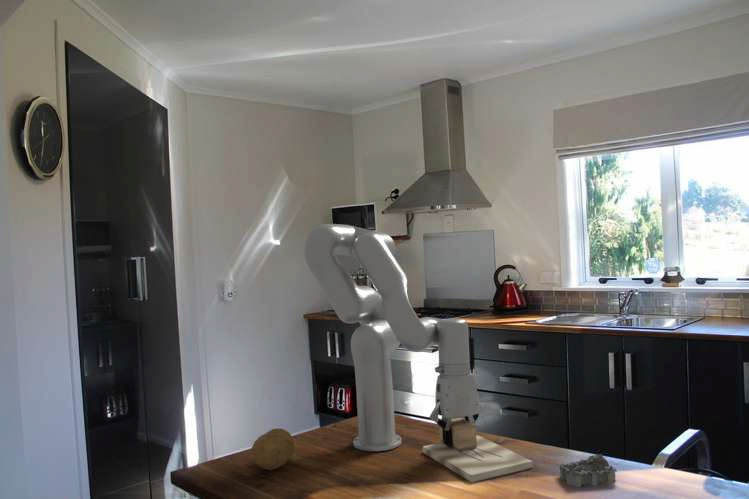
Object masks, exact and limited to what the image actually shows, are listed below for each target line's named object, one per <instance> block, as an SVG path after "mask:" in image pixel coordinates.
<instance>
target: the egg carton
mask: <svg viewBox="0 0 749 499" xmlns="http://www.w3.org/2000/svg"><path fill="white" fill-rule="evenodd" d="M603 455H604V454H603V453H601V454H595V455H590V456H588V458H587V459H580V460H579V461H570V462H567V463H557V467H559V477H560V479H562V480H566V485H568V486H574V487H575V488H579V487H582V485H584V484H585V485H586V484H588V485H591V486H597V485H598V483H605V482H606V483H605V484H608V485H610V484H611V483H612V484H614V482H615V481H616V472H618V470H617V469H616V467H613V465H609V462H608V459H606V458H605V457H604V456H603Z"/></svg>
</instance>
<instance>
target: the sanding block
mask: <svg viewBox="0 0 749 499" xmlns="http://www.w3.org/2000/svg"><path fill="white" fill-rule="evenodd" d="M438 426H439V425H438ZM476 428H477V426H476V423H475V424H473V423H471V422H468V421H466V420H464V418H462V417H461V418H455V419H452V420H451V426H450V430H452V440H453V446H452V448H454V449H456V450H457V451H463V450H468V449H473V448H477V440H476V435H477V430H476ZM438 429H439V441H440V443H441V442H442V443H444V442H443V431H442V428H441V427H440V426H439V428H438Z"/></svg>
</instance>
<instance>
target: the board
mask: <svg viewBox="0 0 749 499" xmlns="http://www.w3.org/2000/svg"><path fill="white" fill-rule="evenodd" d="M476 440H477V448H473V449H468V450H463V451H457V450H456V449H454V448H452V447H449V446H447V445H445V444H444V443H442V442H441V441H440V442H437V443H433V444H427V445H423V446H422V453H423V454H425V455H427V456H429V457H430V458H432V460H434V461H436V462H438V463H439V464H441V465H442V466H444V467H446V468H448V469H449V470H451V471H453V472H454V473H456V474H457V475H459V476H461V477H462V478H464V479H465V480H467V481H469V482H470V483H475V482H478V481H482V480H483V481H485V480H487V479H491V478H495V477H500V476H504V475H508V474H512V473H516V472H520V471H525V470H529V469H533V468H534V465H533V464H534V463H533V460H531V459H530V458H528V457H527V458H526V457H525V456H523V455H521V454H518V453H516V452H514V451H512V450H510V449H508V448H507V447H503V446H501V445H499V444H498V443H495V442H493V441H490V440H489V439H486V438H485V437H483V436H481V435H478V434H476Z"/></svg>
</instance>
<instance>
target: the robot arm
mask: <svg viewBox="0 0 749 499" xmlns="http://www.w3.org/2000/svg"><path fill="white" fill-rule="evenodd" d="M396 250H397V248H396V244H395V241H394V240H393V238H392V237H391V236H390V235H389V234H387V233H385V232H380V231H376V230H370V229H367V228H362V227H360V226H359V227H357V226H354V225H350V224H341V223H340V224H337V223H323V224H320V225H317V226H316V227H314V228H313V229H312V230H311V231H310V232H309V234H308V235H307V236H306V240H305V243H304V251H303V252H304V253H303V254H304V258H305V263H306V265H307V268H308V269H309V271H310V272H311V274H312V276H313V277H314V278H315V280H316V282H317V284H319V286H320V288H321V290H322V292H323V293H324V296H325V297H326V299H327V301H328V302H329V304H330V306H331V307H332V310H333V311H334V313H335V314H336V316H337V317H338V319H339V320H340V321H341V322H343V323H345V324H356V323H359V324H360V326H358V327H357V328H356V329H355V330H354V331H353V333H352V335H351V339H350V350H351V356H352V360H353V365H354V375H355V387H356V388H355V389H356V408H357V426H358V436H356V437H355V438H353V440H352V443H353V447H354V448H355V449H357V450H360V451H365V452H382V451H383V452H385V451H389V450H394V449H395V448H398V447H399V446H400V445H401V444H402V437H401V436H400V435H399V434H396V425H395V424H396V422H395V409H394V408H395V407H394V406H395V405H394V388H393V387H394V385H393V374H392V373H393V372H392V366H391V364H390V363H391V362H390V360H389V354H390V353H392V352H394V351H396V350H397V349H398V347H399V346H400V344H401V345H402V346H403V348H405V349H407V351H409V352H413V353H419V352H420V353H421V352H423V351H425V350H427V349H429V348H431V347H434V346H437V348H438V350H437V351H438V366H435V367H434V371H435V373H437V374H439V375H437V377H436V378H437V379H436V384H435V400H434V401H435V405H434V409H433V410H432V412H431V413H430V415H429V419H430V420H431V421H433V422H434V423H436V425H438V426H440V427H441V428H442V431H443V442H444V444H445V445H447V446H449V447H452V446H453V440H452V430H450V426H451V420H452V419H455V418H461V419H462V418H463V419H464V420H466V421H468V422H471V423H473V424H475V425H476V421H477V420H478V418H479V416H480V415H481V414H482V413H483V411H484V409H485V408H484V407H483V406H482V405H481V403H480V401H479V392H478V387H477V383H476V379H475V375H474V373H473V372H471V363H470V362H471V361H470V360H471V359H470V340H469V337H470V336H469V327H468V322H467V321H466V320H465V319H463V318H456V317H453V318H437V317H431V316H425V317H420V318H419V316H418V315H417V313H416V312H415V310H414V308H413V307H412V304H411V303H410V300H409V297H408V282H409V281H408V276H407V275H406V273H405V271H404V270H403V268H402V267H401V265H400V264H399V262H398V261H397V259H396V257H395V255H396ZM337 256H349V257H352V258H355V259H356V260H357V261H358V263H359V265H360V266H361V268H362V270H363V271H364V272H365V274H366V276H367V278H368V279H369V280H370V282H371V284H372V285H373V287H374V288H372V287H370V286H368V285H358V284H357V283H356V282H355V280H354V278H353V277H352V275H351V274H350V272H349V270H348V269H347V267H346V266H345V265H344V264H343V263H342V262H341V261H340V260H339V258H338V257H337ZM439 416H441V418H440V417H439Z"/></svg>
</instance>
